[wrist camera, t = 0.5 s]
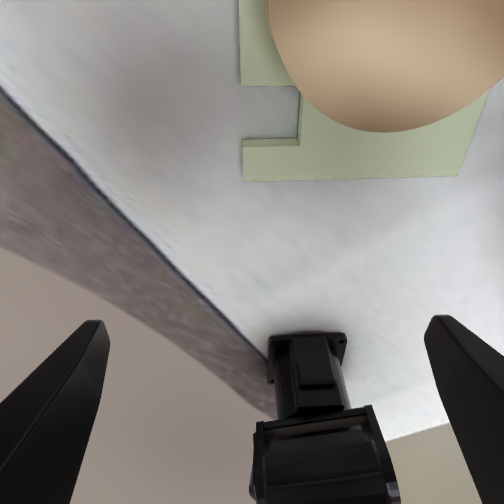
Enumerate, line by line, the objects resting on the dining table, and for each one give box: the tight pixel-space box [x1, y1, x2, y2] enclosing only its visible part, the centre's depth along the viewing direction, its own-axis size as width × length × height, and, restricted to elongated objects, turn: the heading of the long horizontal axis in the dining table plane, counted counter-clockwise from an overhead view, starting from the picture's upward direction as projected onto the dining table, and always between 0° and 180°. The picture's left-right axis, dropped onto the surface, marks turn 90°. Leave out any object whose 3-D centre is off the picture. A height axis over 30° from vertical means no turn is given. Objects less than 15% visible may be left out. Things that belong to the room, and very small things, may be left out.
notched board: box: [239, 0, 491, 182], centre depth 17 cm, size 14×12×1 cm
